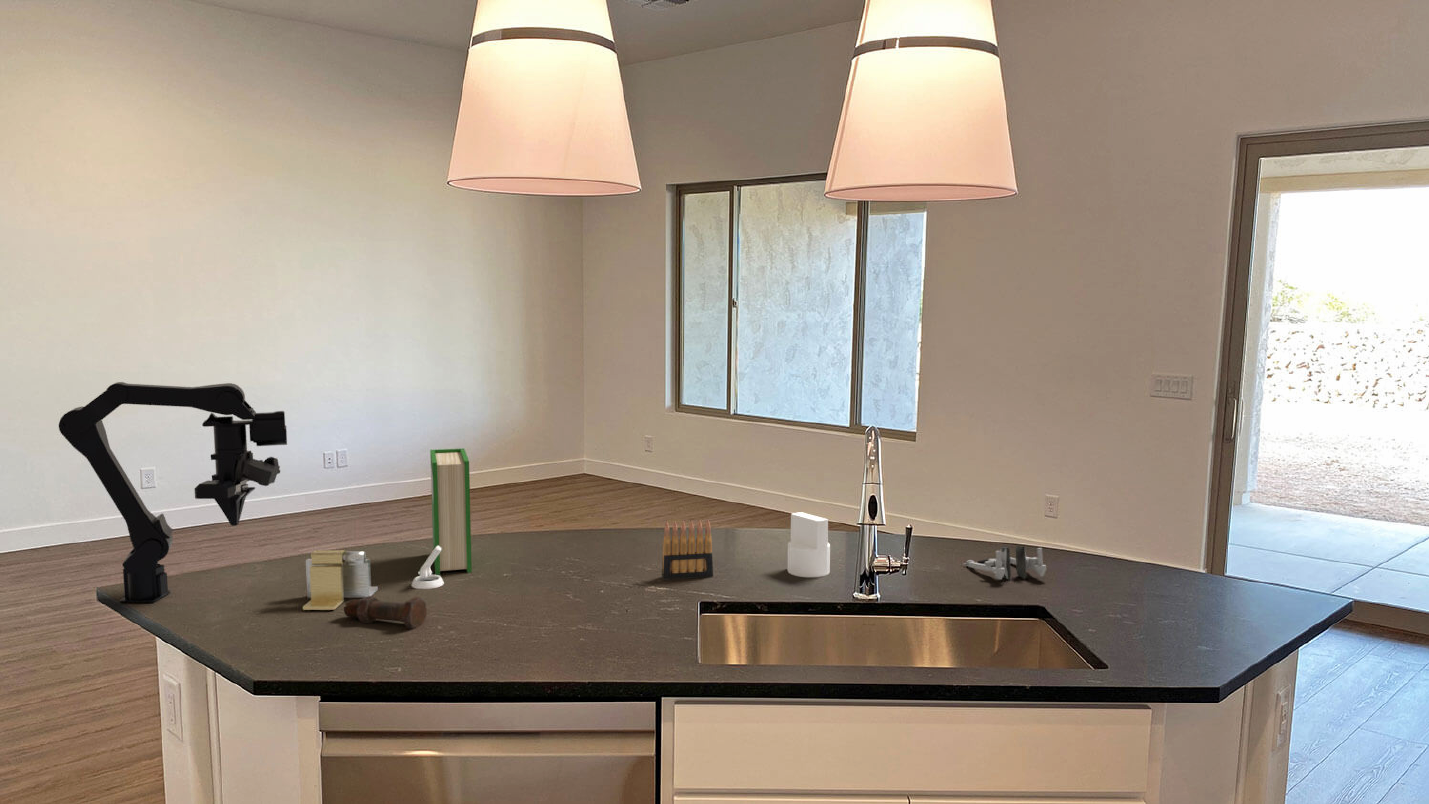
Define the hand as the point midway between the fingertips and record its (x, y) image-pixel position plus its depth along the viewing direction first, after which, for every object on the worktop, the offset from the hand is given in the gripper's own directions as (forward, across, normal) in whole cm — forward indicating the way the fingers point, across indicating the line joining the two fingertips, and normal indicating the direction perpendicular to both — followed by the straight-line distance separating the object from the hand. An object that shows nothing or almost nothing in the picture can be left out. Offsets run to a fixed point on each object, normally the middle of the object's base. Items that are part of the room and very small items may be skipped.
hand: (234, 525), depth 195 cm
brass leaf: (+13, -10, -21) cm, 27 cm away
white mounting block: (+13, -5, -22) cm, 26 cm away
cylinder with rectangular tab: (+13, +12, -116) cm, 117 cm away
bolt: (+14, -20, -35) cm, 43 cm away
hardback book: (+13, +19, -38) cm, 44 cm away
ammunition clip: (+13, +8, -90) cm, 91 cm away
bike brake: (+14, +12, -158) cm, 159 cm away
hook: (+13, +3, -37) cm, 39 cm away
